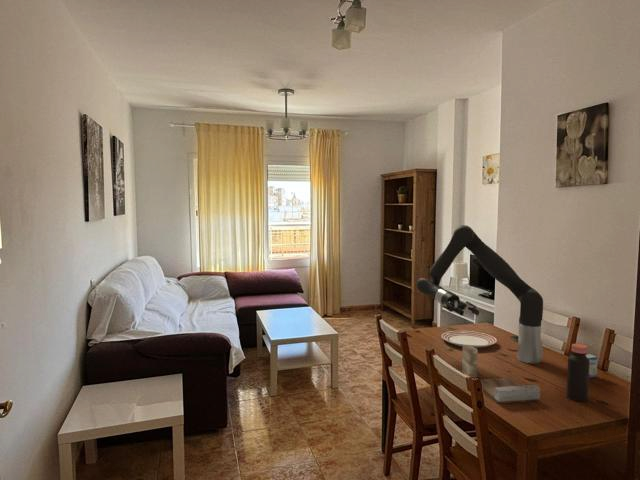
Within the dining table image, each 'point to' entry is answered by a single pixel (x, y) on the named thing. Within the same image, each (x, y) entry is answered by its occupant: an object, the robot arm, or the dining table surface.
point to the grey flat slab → (501, 382)
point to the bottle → (578, 374)
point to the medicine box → (592, 365)
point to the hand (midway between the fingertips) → (470, 313)
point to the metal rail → (517, 393)
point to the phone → (514, 338)
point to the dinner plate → (469, 338)
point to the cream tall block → (469, 361)
